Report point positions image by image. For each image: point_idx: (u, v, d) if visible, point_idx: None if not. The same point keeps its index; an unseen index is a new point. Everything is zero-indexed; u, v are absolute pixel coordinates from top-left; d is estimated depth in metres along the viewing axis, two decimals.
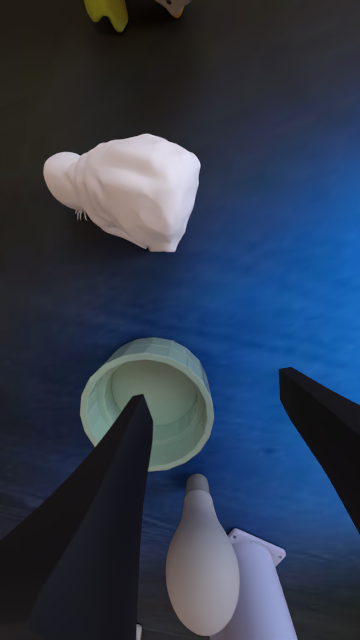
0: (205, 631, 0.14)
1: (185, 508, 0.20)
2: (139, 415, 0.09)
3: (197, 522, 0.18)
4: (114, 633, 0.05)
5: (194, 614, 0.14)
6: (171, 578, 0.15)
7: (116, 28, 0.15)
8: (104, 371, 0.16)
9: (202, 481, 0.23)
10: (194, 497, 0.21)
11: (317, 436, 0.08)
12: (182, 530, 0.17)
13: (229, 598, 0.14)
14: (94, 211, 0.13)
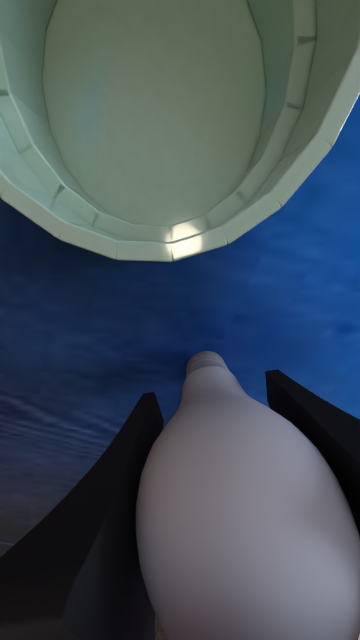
0: None
1: (189, 389, 0.09)
2: (151, 413, 0.09)
3: (233, 400, 0.07)
4: (136, 631, 0.05)
5: None
6: (155, 525, 0.05)
7: None
8: None
9: (220, 360, 0.12)
10: (210, 373, 0.10)
11: None
12: (193, 412, 0.06)
13: None
14: None
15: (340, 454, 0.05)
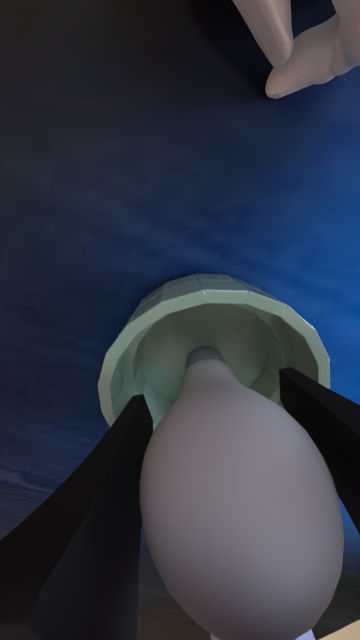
0: None
1: (189, 380, 0.10)
2: (139, 415, 0.09)
3: (228, 387, 0.07)
4: (114, 633, 0.05)
5: (238, 601, 0.04)
6: (158, 494, 0.05)
7: None
8: (159, 315, 0.08)
9: (218, 355, 0.12)
10: (208, 366, 0.10)
11: (317, 436, 0.08)
12: (192, 398, 0.07)
13: (340, 555, 0.05)
14: None
15: None
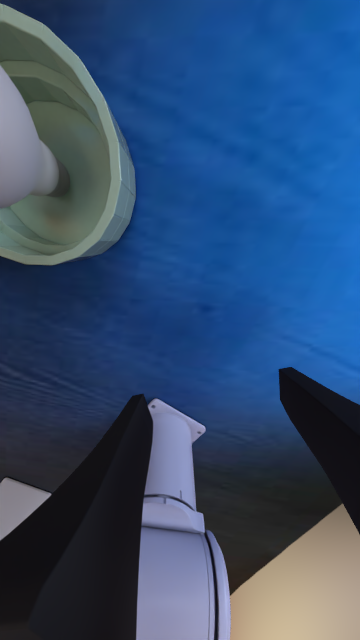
0: None
1: None
2: (139, 415, 0.09)
3: None
4: (114, 633, 0.05)
5: None
6: None
7: None
8: None
9: None
10: None
11: (317, 436, 0.08)
12: None
13: None
14: None
15: None
